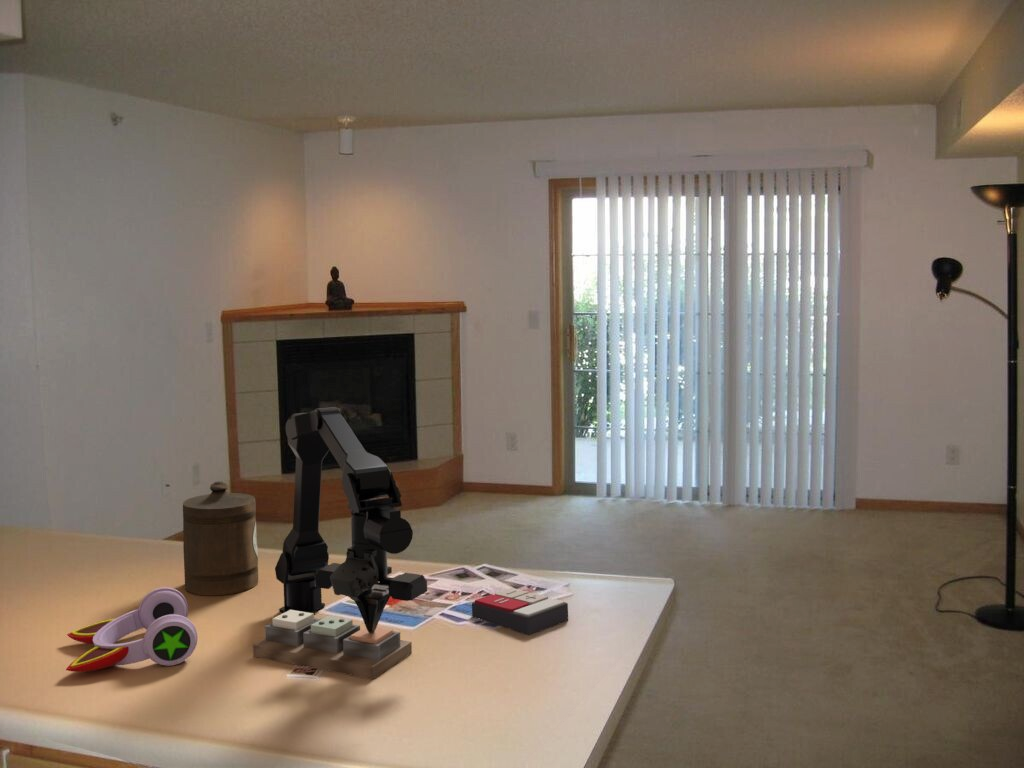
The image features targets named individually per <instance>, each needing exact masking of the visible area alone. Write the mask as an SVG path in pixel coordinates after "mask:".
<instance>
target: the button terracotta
mask: <svg viewBox="0 0 1024 768" xmlns="http://www.w3.org/2000/svg"><path fill="white" fill-rule="evenodd" d="M393 631H394V630H393V629H391V628H383V627H378V626H377V627H376V630H375V631H374V632H368V631H367V628H366V626H364V627H362V628H360V630H359V631H357V632H356V633H354V634H352V635H351V640H356V641H362V642H367V643H373V644H378V643H380V642H381V641H383V640H385V639H386V638H388V637H389V636H391V635H393Z"/></svg>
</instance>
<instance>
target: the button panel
mask: <svg viewBox="0 0 1024 768" xmlns="http://www.w3.org/2000/svg"><path fill="white" fill-rule="evenodd" d="M321 619H322V618H316V617H314V621H313V622H311V623H310V624H308V625H306V626H304V627H302V628H300V629H298V630H292V629H286V628H281V627H275V626H273V622H271V623H268V624H267V625H264V635H265V637H264V639H262V640H259V641H258V642H256V643H254V644H253V645H252V653H253V654H252V655H253V656H252V657H255V658H260V659H265V660H271V661H275V662H280V663H286V664H292V665H297V666H301V665H302V666H303V667H306V666H308V668H312V669H317V670H323V671H326V672H327V671H329V672H333V673H338V674H344V675H349V676H354V677H361V678H364V679H369V680H370V679H371V680H374V679H376V678H377V677H379V676H380V675H382V674H384V673H385V672H386V671H388V670H389V669H390V668H392V667H395V665H396V664H398V663H399V662H401V661H403V660H404V659H405V658H407V657H408V656H410V655H412V653H413V652H412V651H413V650H412V648H413V647H412V645H413V644H412V641H409V640H402V639H401V632H400V631H395V630H393V635H391V636H389V637H388V638H386V639H385V640H383V641H381V642H380V643H378V644H373V643H367V642H362V641H356V640H351V635H352V634H354V633H356V632H357V631H359V630H361V625H359V624H353V628H351V629H349V630H348V631H346V632H344V633H342V634H341V635H339V636H337V637H333V636H327V635H321V634H315V633H311V625H312V624H314V623H315V622H317V621H319V620H321Z"/></svg>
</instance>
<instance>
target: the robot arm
mask: <svg viewBox="0 0 1024 768" xmlns="http://www.w3.org/2000/svg"><path fill="white" fill-rule="evenodd" d="M344 416H345V415H344V412H343V410H342V408H338V407H336V406H332V407H319V408H315V410H311V411H310V412H300V413H299V412H298V413H293V414H291V417H288V419H287V421H286V422H285V434H286V437H287V444H288V446H289V447H290V449H291V450H292V452H293V454H294V456H295V472H294V473H295V475H294V496H293V497H294V498H293V499H294V500H293V517H292V519H293V522H292V523H293V524H292V528H291V530H290V531H289V533H288V534H287V536H286V537H285V539H284V540H283V545H282V553H280V555H279V559H278V560H277V562H276V564H275V566H274V571H275V572H274V573H275V577H276V580H277V581H278V582H280V583H281V584H283V604H284V605H283V606H282V607H280V608H278V611H279V613H280V612H281V613H285V612H287V611H289V610H296V611H302V612H308V613H314V612H316V611H318V610H320V609H323V608H324V607H326V603H324V602H322V601H323V599H322V589H324V590H329V589H331V588H332V590H333V593H334V595H336V596H340V595H341V596H345V597H348V598H350V599H351V600H352V601H354V603H355V604H356V606H357V609H358V611H359V613H360V616H361V618H362V620H363V622H364V627H366V628H367V631H368V632H374V631H375V630H376V627H378V624H379V622H380V620H381V618H382V615H383V613H384V610H385V607H386V606H387V603H388V602H389V600H390V598H392V599H393V600H397V601H405V602H409V601H413V600H414V599H416V598H417V597H419V596H422V595H423V594H425V593H427V592H428V580H427V579H426V577H425V576H424V575H423V574H418V573H410V572H404V573H402V574H400V575H399V576H396V577H389V575H390V574H392V573H393V572H392V570H393V569H392V566H388V554H393V555H397V554H400V553H403V552H404V551H405V550H407V548H408V547H409V546H410V544H411V542H412V541H413V535H414V533H413V532H414V531H413V529H412V527H411V526H412V525H411V524H410V522H409V521H407V520H406V519H405V518H403V517H402V514H401V513H402V511H401V510H400V509H399V508H400V507H402V506H403V503H402V500H401V498H402V495H401V491H400V489H399V488H398V485H397V482H396V480H395V478H394V475H393V473H392V471H391V469H390V468H389V466H387V464H386V463H385V462H384V461H383V459H381V458H380V457H379V456H377V455H374V454H372V453H370V452H368V451H367V450H365V448H364V447H363V445H362V443H361V442H360V440H359V439H358V438H357V436H356V435H355V433H354V431H353V430H352V428H351V427H350V425H349V424H348V422H347V421H346V419H345V417H344ZM329 451H330V453H331V455H332V456H333V457H334V459H335V461H336V462H337V464H338V466H339V467H340V469H341V471H342V474H341V481H340V484H341V487H342V490H343V493H344V495H345V496H346V497H345V498H346V499H347V501H348V503H347V509H349V510H350V520H351V522H350V523H351V526H350V527H351V546H350V547H347V551H346V557H345V560H344V562H342V563H337V562H333V563H331V564H329V559H330V557H329V556H330V554H329V552H328V544H327V543H326V541H325V540H324V539H323V537H322V535H321V534H320V532H319V531H320V528H319V527H320V511H321V510H320V508H321V489H322V487H321V486H322V474H323V473H322V472H323V471H322V469H323V460H324V458H325V457H326V456H327V454H328V452H329Z"/></svg>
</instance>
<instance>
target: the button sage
mask: <svg viewBox="0 0 1024 768" xmlns="http://www.w3.org/2000/svg"><path fill="white" fill-rule="evenodd" d="M320 619H321V620H319V621H317V622H315V623H314V624H312V625H311V633H315V634H321V635H327V636H333V637H337V636H339V635H341V634H342V633H344V632H346V631H348V630H349V629H351V628H353V625H354V624H353V619H350V618H345V617H344V618H343V617H338V616H332V615H327V616H325V617H324V618H323V617H322V618H320Z"/></svg>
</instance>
